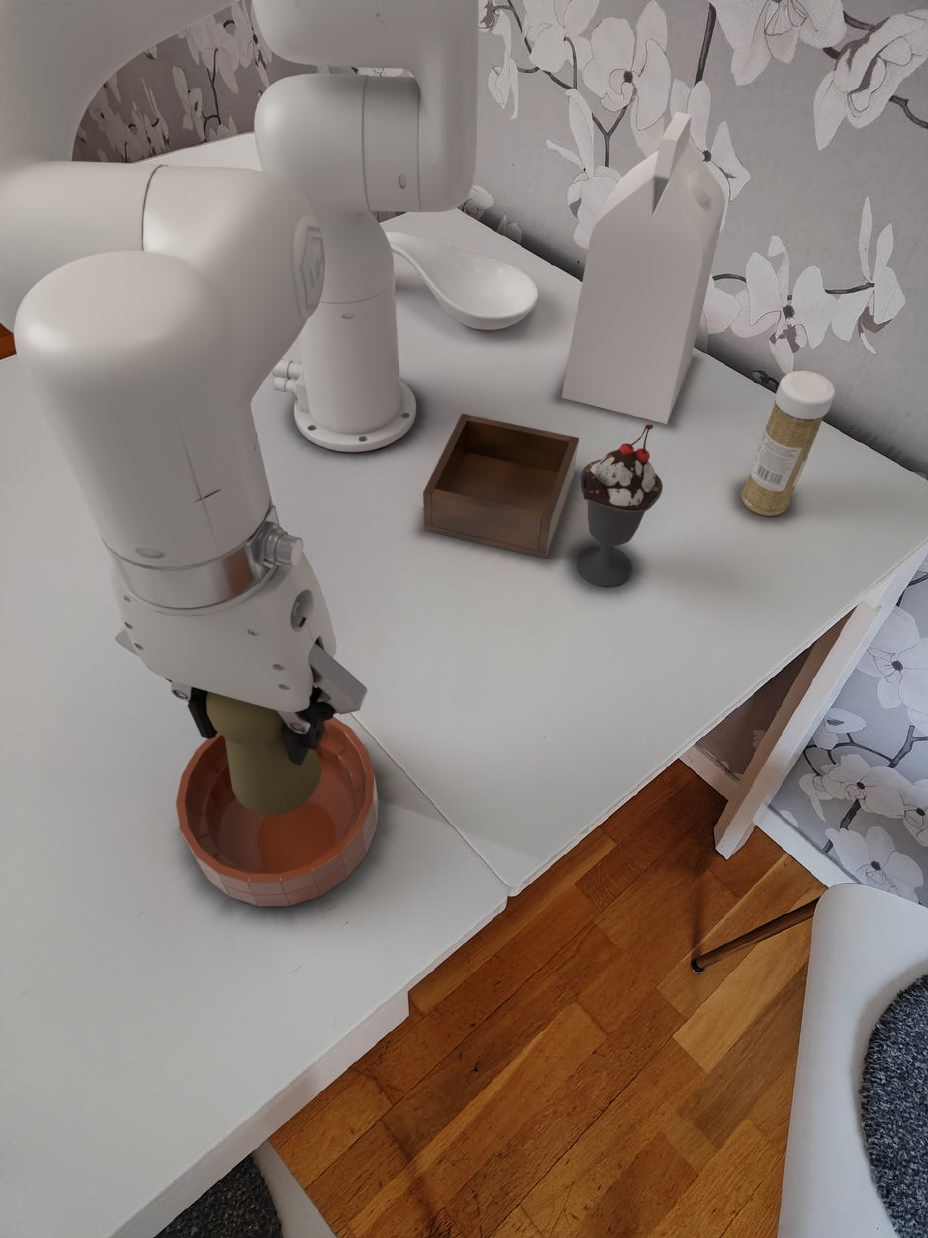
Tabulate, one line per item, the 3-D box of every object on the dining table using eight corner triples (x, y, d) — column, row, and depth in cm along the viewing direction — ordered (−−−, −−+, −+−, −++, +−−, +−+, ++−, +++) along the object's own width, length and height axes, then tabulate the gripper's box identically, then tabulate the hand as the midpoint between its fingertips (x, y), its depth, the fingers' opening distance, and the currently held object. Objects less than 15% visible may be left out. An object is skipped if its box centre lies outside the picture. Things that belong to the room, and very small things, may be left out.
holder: (424, 530, 80) (422, 492, 77) (461, 451, 87) (461, 412, 84) (545, 559, 78) (550, 521, 75) (573, 475, 85) (579, 437, 82)
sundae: (647, 549, 79) (682, 417, 68) (632, 602, 75) (665, 472, 64) (577, 531, 81) (599, 399, 69) (558, 582, 77) (578, 451, 65)
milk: (592, 337, 100) (629, 89, 80) (691, 360, 98) (755, 110, 77) (561, 397, 93) (593, 142, 73) (666, 424, 91) (730, 167, 70)
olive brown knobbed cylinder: (234, 737, 60) (198, 645, 52) (322, 731, 61) (300, 639, 52) (227, 818, 57) (187, 734, 48) (320, 812, 57) (297, 727, 48)
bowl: (157, 875, 60) (139, 848, 56) (243, 718, 68) (232, 686, 64) (336, 933, 57) (329, 908, 54) (403, 764, 65) (401, 733, 62)
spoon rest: (549, 301, 105) (554, 243, 99) (518, 355, 98) (522, 296, 92) (369, 262, 110) (365, 205, 104) (328, 311, 103) (321, 253, 97)
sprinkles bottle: (797, 506, 83) (848, 389, 73) (763, 524, 82) (810, 408, 71) (763, 478, 86) (807, 362, 75) (729, 495, 84) (769, 379, 73)
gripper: (398, 518, 41) (411, 718, 55) (75, 441, 43) (168, 650, 58) (336, 642, 36) (368, 824, 51) (-17, 548, 39) (108, 745, 54)
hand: (261, 730), depth 54 cm, fingers closed on olive brown knobbed cylinder, 5 cm apart
